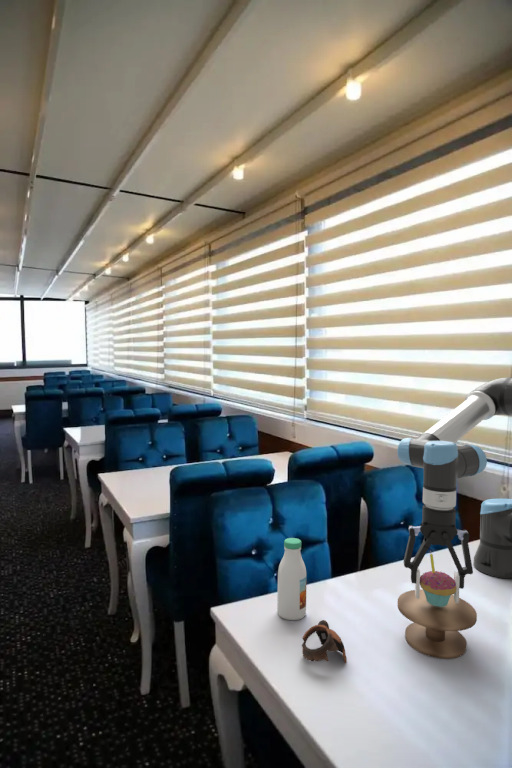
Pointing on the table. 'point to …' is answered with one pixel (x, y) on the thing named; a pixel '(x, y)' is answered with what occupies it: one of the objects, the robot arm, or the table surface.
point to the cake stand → (436, 625)
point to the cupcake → (437, 586)
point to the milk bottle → (292, 582)
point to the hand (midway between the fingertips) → (436, 598)
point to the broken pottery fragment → (323, 643)
